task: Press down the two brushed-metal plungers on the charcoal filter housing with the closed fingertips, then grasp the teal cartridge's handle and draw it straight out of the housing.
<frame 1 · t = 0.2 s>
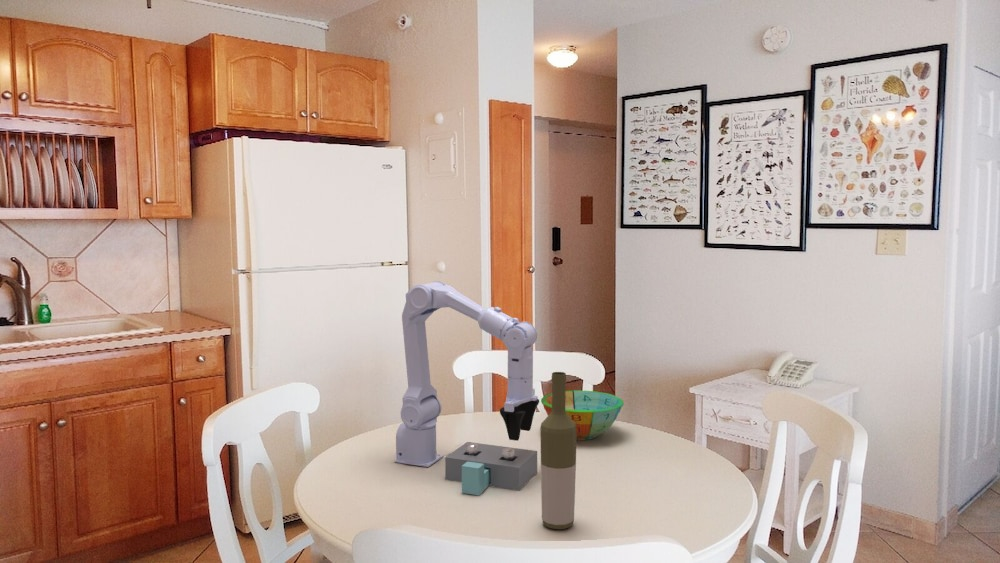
hand: (519, 434, 163), 10 cm above the table, fingers open, 7 cm apart
plunger left: (472, 450, 165), point 6 cm above the table, slide at 0.0 cm
cartridge: (484, 469, 160), point 3 cm above the table, slide at 0.0 cm
bowl: (581, 436, 195), on the table
housing: (491, 475, 165), on the table
plunger right: (508, 454, 162), point 6 cm above the table, slide at 0.0 cm
bottle: (557, 525, 139), on the table
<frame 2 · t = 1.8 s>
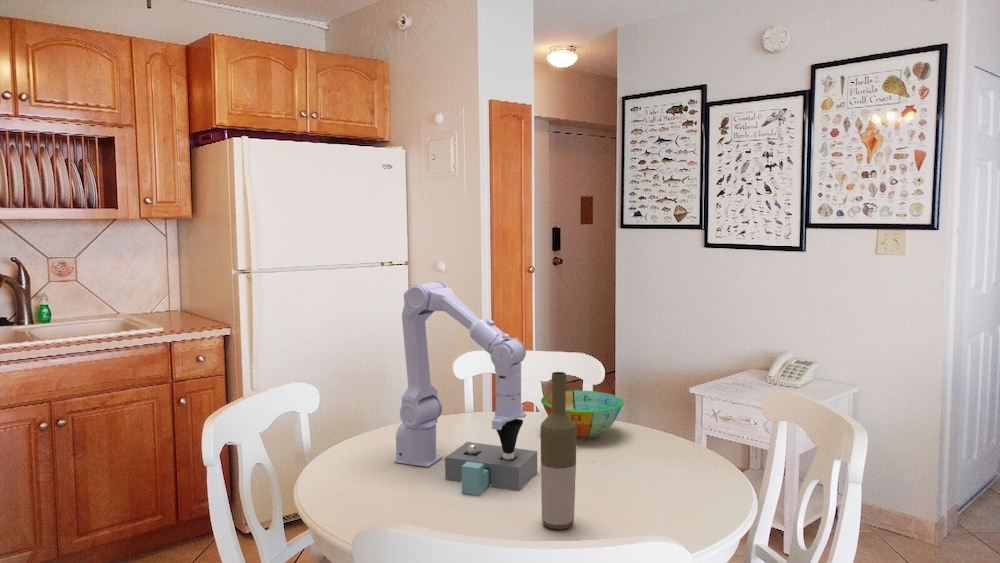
hand: (508, 452, 162), 7 cm above the table, fingers closed, pressing on plunger right
plunger right: (508, 457, 162), point 5 cm above the table, slide at 0.6 cm, touching gripper
everything else where it was.
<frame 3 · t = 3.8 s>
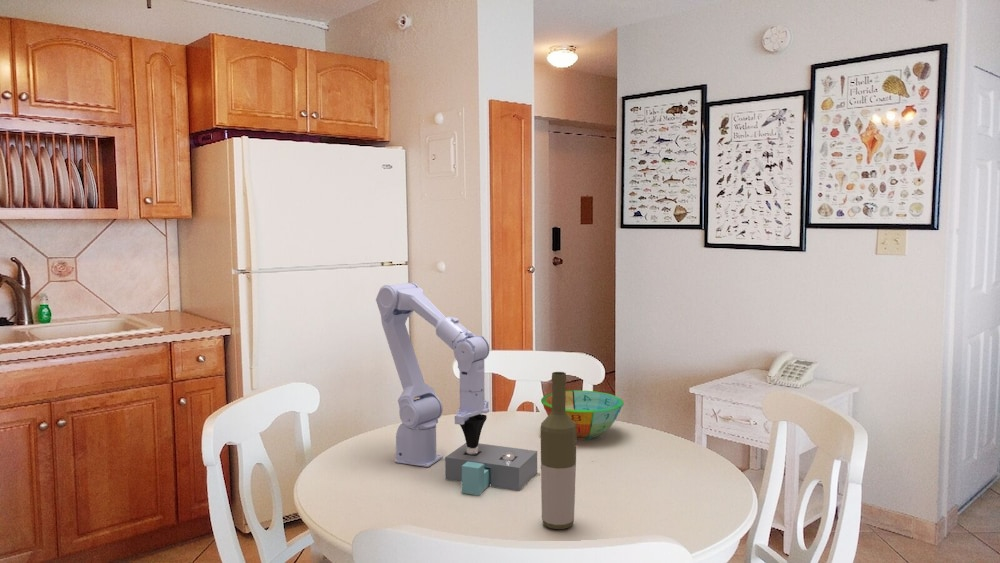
hand: (472, 446, 165), 7 cm above the table, fingers closed, pressing on plunger left
plunger left: (472, 452, 165), point 5 cm above the table, slide at 0.5 cm, touching gripper
plunger right: (508, 459, 162), point 5 cm above the table, slide at 1.1 cm
everything else where it was.
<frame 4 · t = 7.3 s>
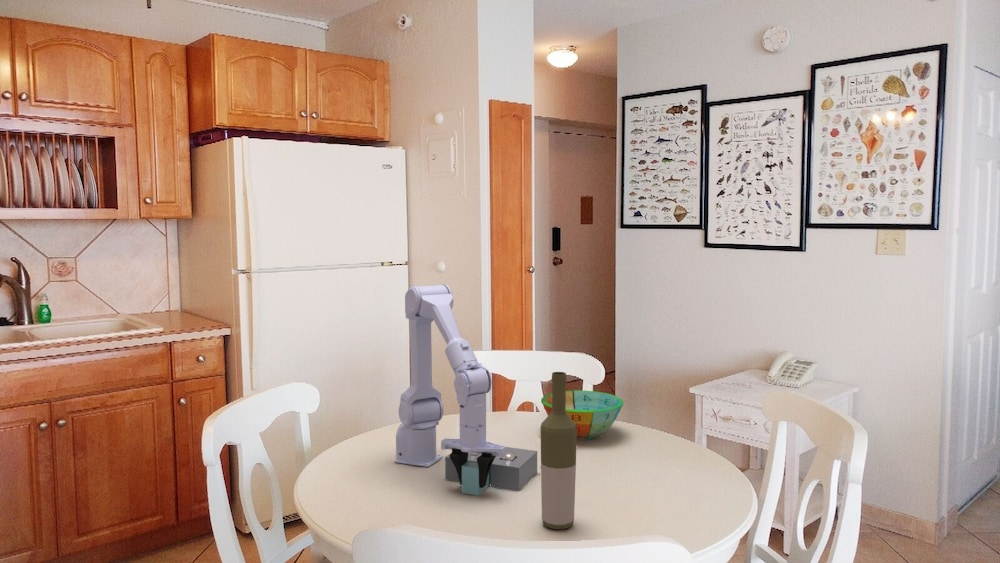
hand: (473, 484, 155), 2 cm above the table, fingers closed on cartridge, 4 cm apart
plunger left: (472, 454, 165), point 5 cm above the table, slide at 1.1 cm
cartridge: (484, 469, 160), point 3 cm above the table, slide at 0.0 cm, touching gripper
everything else where it was.
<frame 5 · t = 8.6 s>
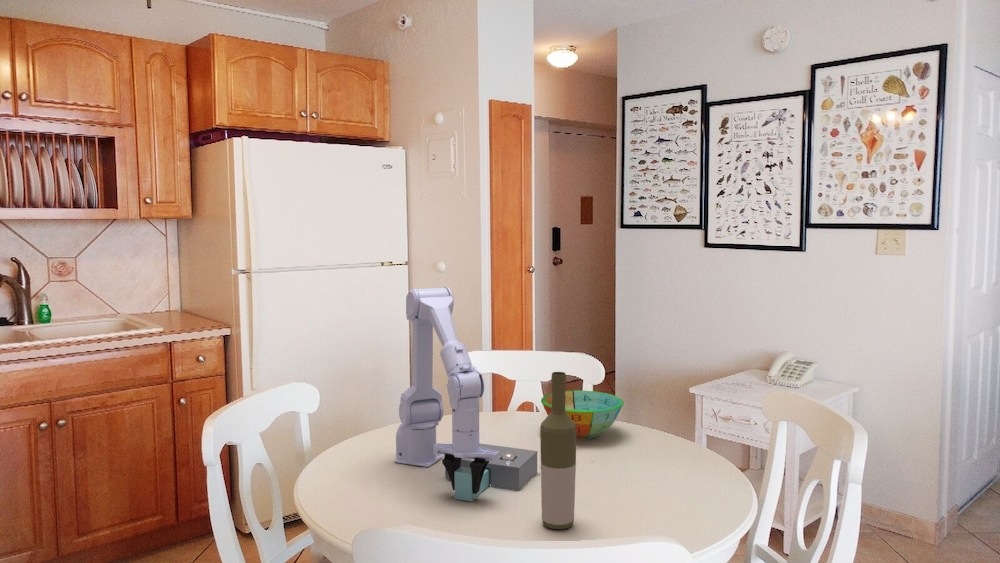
hand: (466, 490, 152), 2 cm above the table, fingers closed on cartridge, 4 cm apart
cartridge: (477, 474, 157), point 3 cm above the table, slide at 3.6 cm, touching gripper
everything else where it was.
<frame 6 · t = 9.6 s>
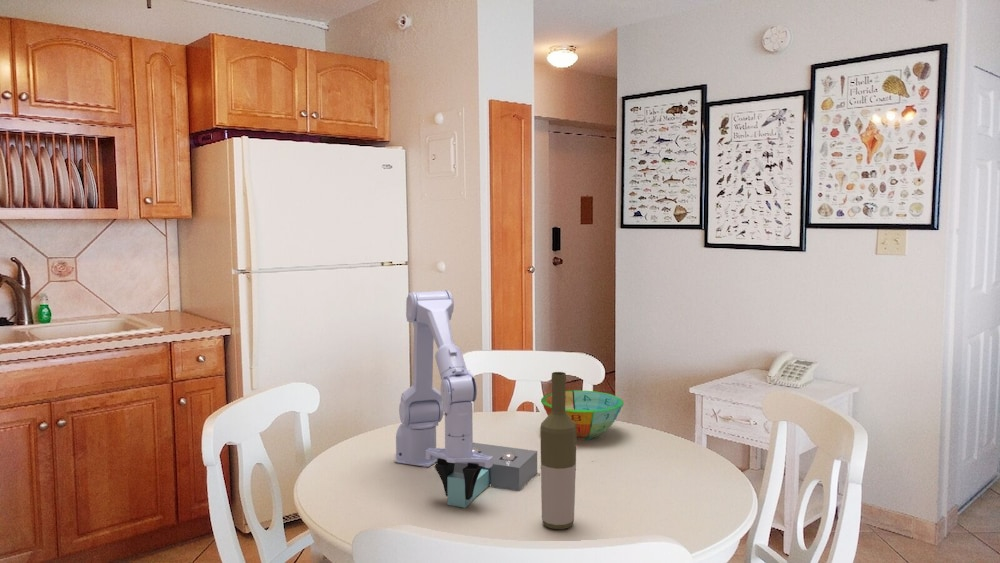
hand: (459, 496, 149), 2 cm above the table, fingers closed on cartridge, 4 cm apart
cartridge: (471, 479, 154), point 3 cm above the table, slide at 6.9 cm, touching gripper
everything else where it was.
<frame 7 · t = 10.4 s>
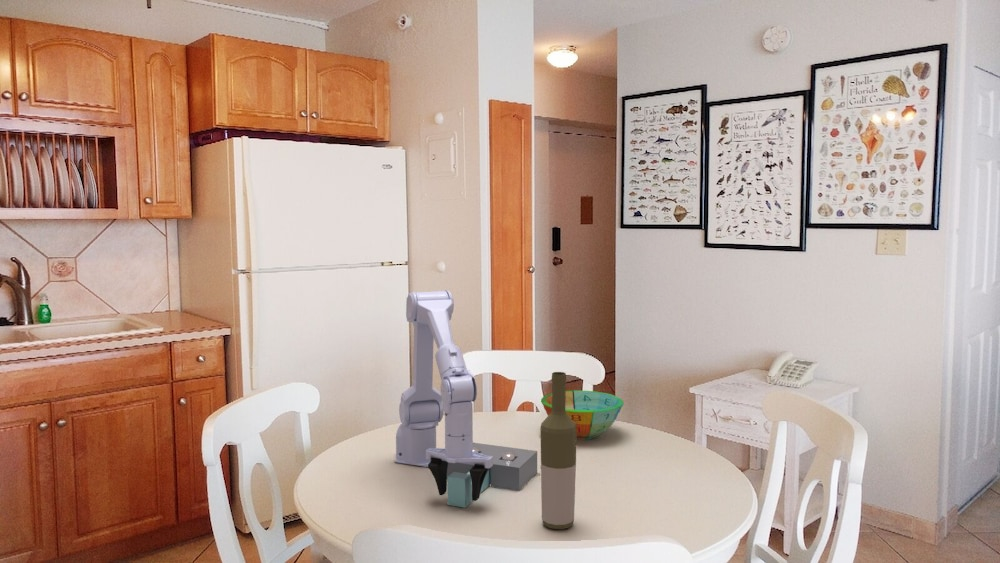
hand: (459, 496, 149), 2 cm above the table, fingers open, 7 cm apart
cartridge: (471, 479, 154), point 3 cm above the table, slide at 6.9 cm
everything else where it was.
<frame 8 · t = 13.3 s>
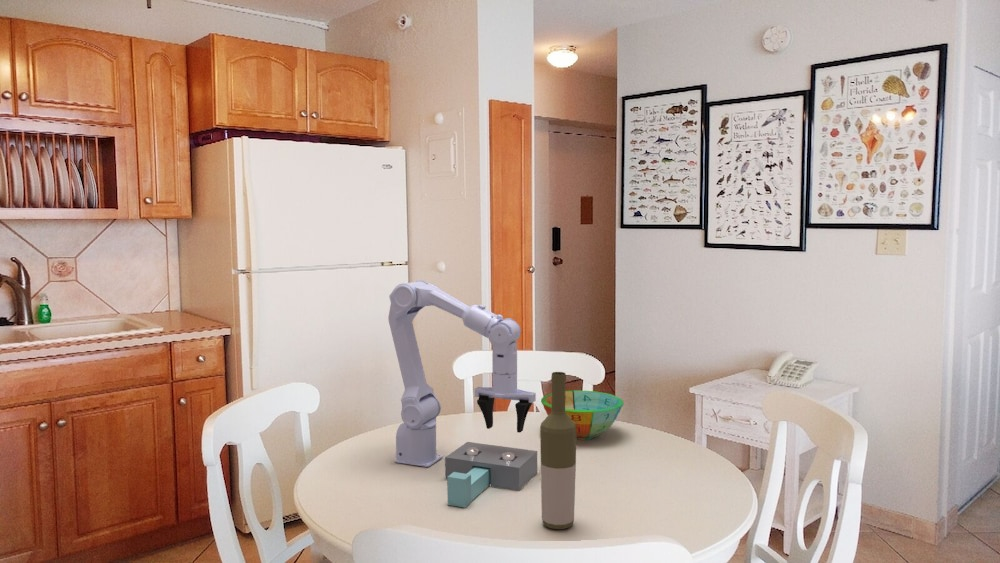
hand: (504, 429, 166), 10 cm above the table, fingers open, 7 cm apart
nothing on the table moved.
at the end: cartridge slide at 6.9 cm; plunger right slide at 1.1 cm; plunger left slide at 1.1 cm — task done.
